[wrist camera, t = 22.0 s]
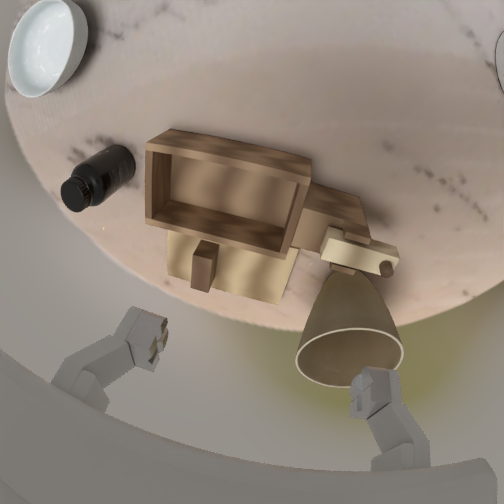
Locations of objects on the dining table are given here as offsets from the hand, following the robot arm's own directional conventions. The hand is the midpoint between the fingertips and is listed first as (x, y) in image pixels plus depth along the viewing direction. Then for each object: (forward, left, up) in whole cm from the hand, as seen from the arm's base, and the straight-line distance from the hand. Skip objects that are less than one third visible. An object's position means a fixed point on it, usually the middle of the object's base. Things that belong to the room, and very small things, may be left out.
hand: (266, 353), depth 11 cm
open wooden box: (+4, +8, -31) cm, 32 cm away
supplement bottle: (+27, +9, -31) cm, 42 cm away
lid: (+6, +21, -31) cm, 38 cm away
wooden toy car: (-10, +8, -23) cm, 26 cm away
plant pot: (-14, +21, -31) cm, 40 cm away
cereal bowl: (+40, -12, -31) cm, 52 cm away
